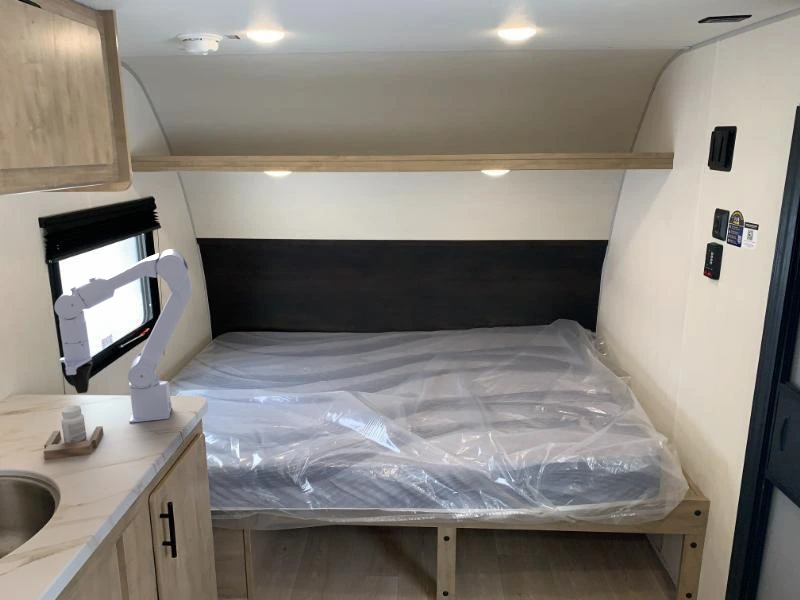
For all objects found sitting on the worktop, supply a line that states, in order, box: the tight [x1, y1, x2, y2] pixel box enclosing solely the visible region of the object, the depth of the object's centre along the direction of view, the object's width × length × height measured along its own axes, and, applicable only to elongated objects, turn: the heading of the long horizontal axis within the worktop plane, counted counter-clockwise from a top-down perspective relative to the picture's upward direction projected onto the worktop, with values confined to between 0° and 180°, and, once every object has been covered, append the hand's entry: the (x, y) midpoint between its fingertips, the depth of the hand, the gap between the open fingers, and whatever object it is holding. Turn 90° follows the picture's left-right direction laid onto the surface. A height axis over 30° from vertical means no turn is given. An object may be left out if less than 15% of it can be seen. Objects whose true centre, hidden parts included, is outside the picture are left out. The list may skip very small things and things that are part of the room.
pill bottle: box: [60, 405, 88, 443], centre depth 145 cm, size 5×5×8 cm
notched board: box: [43, 425, 104, 460], centre depth 143 cm, size 11×10×2 cm
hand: (82, 392), depth 153 cm, fingers closed
